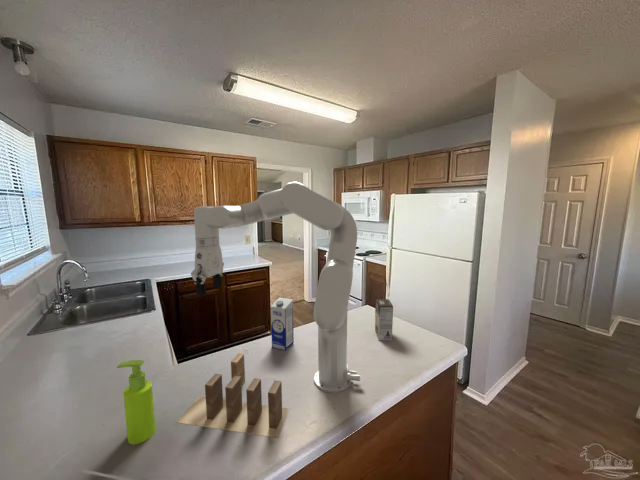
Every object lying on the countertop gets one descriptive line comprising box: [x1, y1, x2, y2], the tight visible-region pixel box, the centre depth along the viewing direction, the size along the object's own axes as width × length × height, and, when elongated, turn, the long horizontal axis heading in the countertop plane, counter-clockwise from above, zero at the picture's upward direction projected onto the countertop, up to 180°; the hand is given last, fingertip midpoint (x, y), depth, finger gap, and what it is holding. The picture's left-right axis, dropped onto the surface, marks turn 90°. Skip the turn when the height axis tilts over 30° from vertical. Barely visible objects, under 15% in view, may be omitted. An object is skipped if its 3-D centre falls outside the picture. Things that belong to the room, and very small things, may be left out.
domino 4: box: [245, 377, 263, 426], centre depth 72 cm, size 2×5×10 cm, turn 170°
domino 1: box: [204, 373, 224, 420], centre depth 74 cm, size 2×5×10 cm, turn 170°
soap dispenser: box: [116, 359, 156, 445], centre depth 66 cm, size 6×7×20 cm
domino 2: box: [230, 353, 246, 387], centre depth 85 cm, size 2×5×10 cm, turn 170°
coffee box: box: [374, 298, 394, 341], centre depth 120 cm, size 9×6×16 cm
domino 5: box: [267, 380, 283, 429], centre depth 71 cm, size 2×5×10 cm, turn 170°
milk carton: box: [270, 296, 295, 352], centre depth 111 cm, size 7×7×20 cm
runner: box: [176, 396, 291, 439], centre depth 73 cm, size 29×10×1 cm, turn 80°
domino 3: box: [224, 376, 243, 423], centre depth 73 cm, size 2×5×10 cm, turn 170°
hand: (209, 290), depth 92 cm, fingers open, 9 cm apart
